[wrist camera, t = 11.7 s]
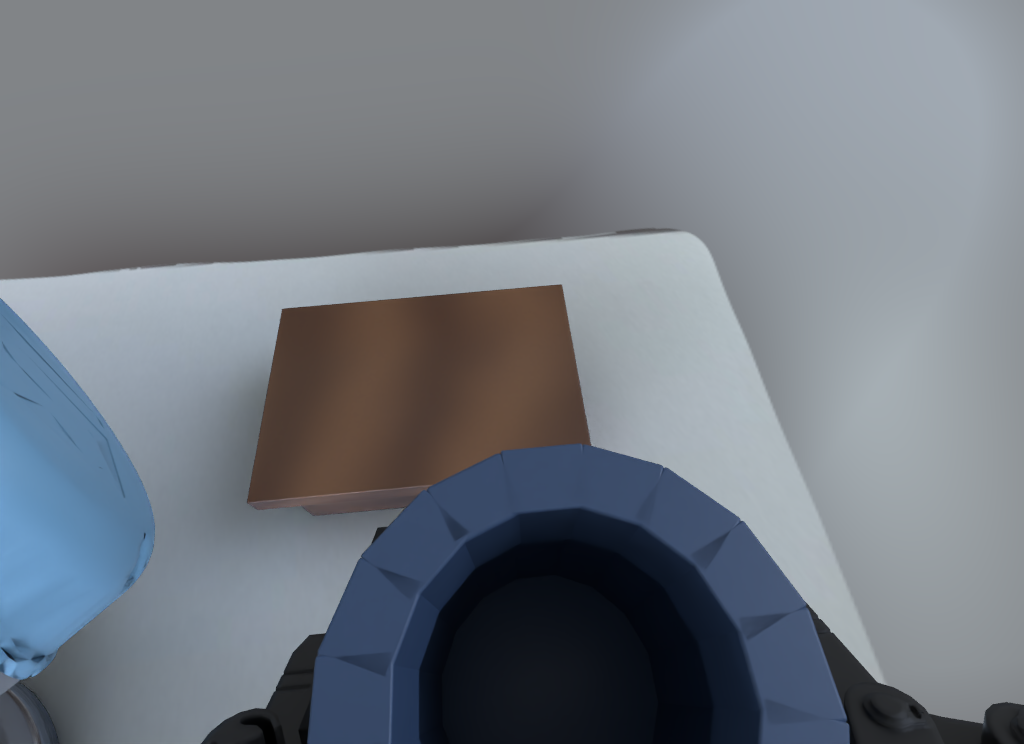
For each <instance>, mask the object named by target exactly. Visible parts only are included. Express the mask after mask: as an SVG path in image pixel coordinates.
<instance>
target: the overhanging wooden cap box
mask: <svg viewBox="0 0 1024 744" xmlns="http://www.w3.org/2000/svg"><path fill="white" fill-rule="evenodd" d="M578 443H581V444H582V445H583V444H586V445H590V446H591V442H590V437H589V431H588V426H587V420H586V415H585V409H584V404H583V398H582V393H581V387H580V382H579V376H578V371H577V365H576V360H575V354H574V349H573V343H572V338H571V332H570V327H569V321H568V316H567V310H566V305H565V299H564V294H563V288H562V285H549V286H538V287H527V288H515V289H504V290H492V291H481V292H469V293H458V294H447V295H435V296H424V297H412V298H401V299H389V300H378V301H367V302H355V303H344V304H332V305H321V306H310V307H298V308H287V309H282V313H281V319H280V324H279V330H278V335H277V341H276V346H275V352H274V357H273V363H272V368H271V373H270V379H269V384H268V390H267V395H266V401H265V406H264V412H263V417H262V423H261V428H260V434H259V439H258V445H257V450H256V456H255V461H254V467H253V472H252V477H251V483H250V488H249V494H248V499H247V503H248V504H249V505H251V506H252V507H254V508H255V509H257V510H263V509H274V508H284V507H294V506H302V507H303V508H305V509H306V510H307V511H308V512H309V513H311V514H312V515H313V516H318V515H329V514H339V513H350V512H360V511H370V510H381V509H391V508H402V507H407V506H408V505H409V504H410V503H411V502H412V501H413V500H414V499H415V498H416V497H417V496H418V494H419V493H420V492H421V491H423V490H426V491H427V489H428V488H429V487H430V486H432V485H434V484H436V483H438V482H440V481H442V480H444V479H446V478H448V477H450V476H452V475H454V474H456V473H458V472H460V471H462V470H464V469H466V468H468V467H470V466H472V465H474V464H476V463H478V462H481V461H483V460H485V459H487V458H489V457H491V456H493V455H495V454H498V453H499V454H500V453H501V451H503V450H513V449H524V448H535V447H545V446H556V445H567V444H578Z"/></svg>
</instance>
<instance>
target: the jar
mask: <svg viewBox="0 0 1024 744" xmlns="http://www.w3.org/2000/svg"><path fill="white" fill-rule="evenodd" d="M740 520H741V519H740V518H739V517H738V516H736V515H735V514H733V513H732V512H730V511H729V510H727V509H726V508H725V507H723V506H722V505H720V504H719V503H717V502H716V501H714V500H713V499H712V498H710V497H709V496H707V495H706V494H704V493H703V492H701V491H700V490H699V489H697V488H696V487H694V486H693V485H691V484H690V483H688V482H687V481H686V480H684V479H683V478H681V477H680V476H678V475H677V474H675V473H674V472H673V471H671V470H670V469H668V468H666V467H665V468H663V466H662V465H659V464H655V463H652V462H648V461H644V460H641V459H637V458H633V457H630V456H626V455H622V454H619V453H615V452H611V451H608V450H604V449H600V448H597V447H593V446H590V445H586V444H583V445H582V444H581V443H578V444H567V445H556V446H545V447H535V448H524V449H513V450H503V451H501V453H500V454H499V453H498V454H495V455H493V456H491V457H489V458H487V459H485V460H483V461H481V462H478V463H476V464H474V465H472V466H470V467H468V468H466V469H464V470H462V471H460V472H458V473H456V474H454V475H452V476H450V477H448V478H446V479H444V480H442V481H440V482H438V483H436V484H434V485H432V486H430V487H429V488H428V489H427V491H426V490H423V491H421V492H420V493H419V494H418V496H417V497H416V498H415V499H414V500H413V501H412V502H411V503H410V504H409V505H408V506H407V507H406V508H405V509H404V510H403V511H402V512H401V514H400V515H399V516H398V517H397V518H396V519H395V520H394V521H393V522H392V523H391V524H390V525H389V526H388V527H387V528H386V529H385V531H384V532H383V533H382V534H381V535H380V536H379V537H378V538H377V539H376V540H375V541H374V542H373V543H372V544H371V545H370V546H369V547H368V549H367V550H366V551H365V552H364V553H363V554H362V556H361V557H362V558H360V559H359V560H358V562H357V564H356V567H355V569H354V571H353V573H352V576H351V578H350V580H349V582H348V585H347V587H346V589H345V591H344V594H343V596H342V598H341V600H340V603H339V605H338V607H337V609H336V612H335V614H334V616H333V618H332V621H331V623H330V625H329V627H328V629H327V632H326V634H325V636H324V638H323V641H322V643H321V645H320V647H319V650H318V656H317V657H316V659H315V666H314V677H313V687H312V698H311V708H310V719H309V729H308V739H307V744H850V733H849V724H848V723H846V721H847V716H846V713H845V710H844V708H843V705H842V702H841V699H840V696H839V693H838V691H837V688H836V685H835V682H834V679H833V676H832V674H831V671H830V668H829V665H828V662H827V659H826V657H825V654H824V651H823V648H822V645H821V643H820V640H819V637H818V634H817V631H816V628H815V626H814V623H813V620H812V617H811V614H810V611H809V610H808V608H806V602H805V601H804V600H803V599H802V597H801V596H800V595H799V593H798V592H797V591H796V589H795V588H794V587H793V585H792V584H791V583H790V581H789V580H788V579H787V577H786V576H785V575H784V573H783V572H782V571H781V570H780V568H779V567H778V566H777V564H776V563H775V562H774V560H773V559H772V558H771V556H770V555H769V554H768V552H767V551H766V550H765V548H764V547H763V546H762V544H761V543H760V542H759V541H758V539H757V538H756V537H755V535H754V534H753V533H752V531H751V530H750V529H749V527H748V526H747V525H746V523H745V522H744V521H740Z"/></svg>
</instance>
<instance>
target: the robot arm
mask: <svg viewBox="0 0 1024 744" xmlns="http://www.w3.org/2000/svg"><path fill="white" fill-rule="evenodd" d="M386 528H387V527H380V528H377V531H376V534H375V536H374V539H373V541H372V543H373V542H374V541H375V540H376V539H377V538H378V537H379V536H380V535H381V534H382V533H383V532H384V531H385V529H386ZM154 537H155V523H154V517H153V512H152V507H151V504H150V501H149V499H148V496H147V493H146V491H145V488H144V486H143V484H142V481H141V479H140V477H139V475H138V473H137V471H136V469H135V468H134V466H133V464H132V462H131V460H130V459H129V457H128V455H127V454H126V452H125V450H124V449H123V447H122V445H121V444H120V442H119V441H118V439H117V437H116V436H115V434H114V433H113V431H112V430H111V428H110V427H109V425H108V424H107V422H106V421H105V420H104V418H103V417H102V415H101V414H100V413H99V411H98V410H97V408H96V407H95V406H94V404H93V403H92V401H91V400H90V399H89V397H88V396H87V395H86V393H85V392H84V391H83V390H82V388H81V387H80V386H79V385H78V383H77V382H76V381H75V380H74V378H73V377H72V376H71V375H70V373H69V372H68V371H67V370H66V368H65V367H64V366H63V365H62V364H61V362H60V361H59V360H58V359H57V358H56V357H55V356H54V354H53V353H52V352H51V351H50V350H49V349H48V348H47V346H46V345H45V344H44V343H43V342H42V341H41V340H40V339H39V337H38V336H37V335H36V334H35V333H34V332H33V331H32V330H31V329H30V328H29V327H28V326H27V325H26V323H25V322H24V321H23V320H22V319H21V318H20V317H19V316H18V315H17V314H16V313H15V312H14V311H13V310H12V309H11V308H10V307H9V306H8V305H7V304H6V303H5V302H4V301H3V300H2V299H1V298H0V744H59V742H58V737H57V734H56V731H55V728H54V725H53V723H52V721H51V719H50V716H49V714H48V712H47V711H46V709H45V708H44V706H43V705H42V703H41V702H40V700H39V699H38V698H37V697H36V696H35V695H34V694H33V693H32V692H31V691H30V690H29V689H27V688H26V687H25V686H24V685H22V684H21V683H19V681H20V680H21V679H27V678H28V677H29V676H31V677H34V676H35V675H37V674H38V673H39V672H41V671H42V670H43V669H45V668H46V667H47V666H48V665H49V664H50V662H51V661H52V660H53V659H54V658H55V656H56V653H57V650H58V648H59V647H60V646H61V645H62V644H64V643H65V642H66V641H67V640H68V639H70V638H71V637H72V636H73V635H74V634H76V633H77V632H78V631H79V630H80V629H82V628H83V627H84V626H85V625H86V624H88V623H89V622H90V621H91V620H92V619H94V618H95V617H96V616H97V615H98V614H100V613H101V612H102V611H103V610H104V609H106V608H107V607H108V606H109V605H110V604H112V603H113V602H114V601H115V600H116V599H117V598H119V597H120V596H121V595H122V594H123V593H125V592H126V591H127V590H128V589H129V588H130V587H131V586H132V585H133V584H134V582H135V581H136V580H137V579H138V578H139V576H140V575H141V574H142V572H143V571H144V569H145V568H146V566H147V564H148V562H149V559H150V557H151V554H152V551H153V547H154ZM806 608H808V610H809V611H810V614H811V617H812V620H813V623H814V626H815V628H816V631H817V634H818V637H819V640H820V643H821V645H822V648H823V651H824V654H825V657H826V659H827V662H828V665H829V668H830V671H831V674H832V676H833V679H834V682H835V685H836V688H837V691H838V693H839V696H840V699H841V702H842V705H843V708H844V710H845V713H846V716H847V721H846V723H848V724H849V733H850V744H1024V705H1020V704H1013V703H1007V702H1005V703H998V704H993V705H991V706H990V707H989V708H988V709H987V710H986V712H985V717H984V723H983V724H981V723H975V722H969V721H963V720H957V719H951V718H945V717H940V716H936V715H932V714H928V712H927V711H926V709H925V708H924V707H923V706H922V705H920V704H919V703H918V702H917V701H915V700H914V699H913V698H912V697H910V696H909V695H907V694H905V693H903V692H901V691H899V690H898V689H895V688H894V687H890V686H887V685H884V684H880V683H877V682H876V680H875V679H874V678H873V677H872V676H871V675H870V674H869V673H868V671H867V670H866V669H865V668H864V667H863V666H862V665H861V664H860V663H859V661H858V660H857V659H856V658H855V657H854V656H853V655H852V654H851V652H850V651H849V650H848V649H847V648H846V647H845V646H844V645H843V643H842V642H841V641H840V640H839V639H838V638H837V637H836V636H835V634H834V633H831V632H830V629H829V628H828V627H827V626H826V624H825V623H824V622H823V621H822V620H821V619H819V618H818V615H817V614H816V613H815V612H814V611H813V610H812V609H811V608H810V606H809V605H808V604H807V603H806ZM325 634H326V633H325ZM325 634H315V635H309V636H308V637H307V638H306V639H305V640H304V642H303V643H302V644H301V645H300V646H299V647H298V648H297V649H296V650H295V651H294V652H293V653H292V656H291V658H290V660H289V662H288V664H287V666H286V668H285V670H284V675H282V676H281V678H280V680H279V683H278V685H277V687H276V691H275V692H274V693H273V695H272V697H271V699H270V701H269V703H268V705H267V707H266V709H259V708H255V709H251V710H247V711H243V712H240V713H238V714H236V715H234V716H232V717H230V718H228V719H226V720H225V721H223V722H222V723H221V724H220V725H218V726H217V727H216V728H215V729H214V730H212V731H211V732H210V733H209V734H208V736H207V737H206V738H205V740H204V741H203V742H202V743H201V744H307V739H308V729H309V719H310V708H311V698H312V687H313V677H314V666H315V659H316V657H317V656H318V650H319V647H320V645H321V643H322V641H323V638H324V636H325Z"/></svg>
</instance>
